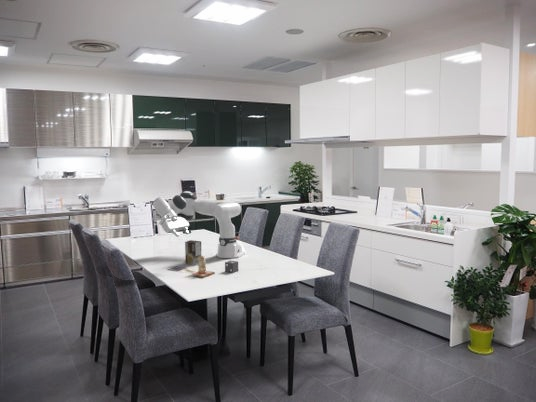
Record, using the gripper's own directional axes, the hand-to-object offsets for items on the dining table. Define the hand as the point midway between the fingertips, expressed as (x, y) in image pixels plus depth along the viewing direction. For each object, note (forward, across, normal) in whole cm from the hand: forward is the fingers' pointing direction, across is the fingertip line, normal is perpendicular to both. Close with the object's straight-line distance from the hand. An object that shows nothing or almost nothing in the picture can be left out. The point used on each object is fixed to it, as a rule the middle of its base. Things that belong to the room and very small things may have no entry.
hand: (183, 234), depth 282 cm
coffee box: (+13, -17, -21) cm, 30 cm away
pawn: (+26, 0, -6) cm, 27 cm away
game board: (+20, 0, -14) cm, 24 cm away
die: (+35, -16, +1) cm, 38 cm away
